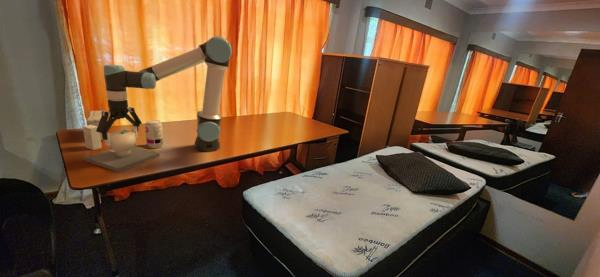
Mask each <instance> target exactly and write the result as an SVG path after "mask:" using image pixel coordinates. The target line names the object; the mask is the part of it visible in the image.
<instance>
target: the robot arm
mask: <svg viewBox="0 0 600 277" xmlns="http://www.w3.org/2000/svg"><path fill="white" fill-rule="evenodd" d="M232 53H233V48H232V45H231V43H230V42H229V41H228V40H227V38H224V37H222V36H212V37H210V38H209V39H208V40H207V41H205V42H204V43H201V44H199V45H198V47H197V48H194V49H191V50H190V51H187V52H184V53H182V54H178V55H177V56H173V57H172V58H169V59H167V60H164V61H162V62H158V63H156V64H154V65H151V66H149V67H146V68H143V69H141V70H139V71H132V70H125V67H124V66H123V65H119V64H106V65H103V73H104V74H103V77H104V84H105V90H106V91H105V92H106V99H107V107H108V110H102V117H101V119H100V122H99V124H98V127H97V130H96V132H99V133H102V138H103V139H104V140H103V141H104V146H106V147H109V146H111V142H110V135H109V133H110V132H109V131H110V129H111V127H112V126H113V124H114V123H115V122H116V121H117V120H120V119H121V120H122V119H126V120H127V121H128V122H129V123H131V124H132V125H131V132H134V133H135V137H136V140H137V139H139V137H138V136H139V134H138V132H139V127H140V126H141V125H142V123H143V122H142V121H141V119H140V117H139V116H138V115H137V113H136V111H135V107H131V106H129V103H128V102H129V101H128V93H127V92H128V91H127V88H130V89H131V88H132V89H133V88H134V89H145V90H154V89H155V88H156V83H157V82H158V81H160V80H163V79H166V78H168V77H170V76H173V75H175V74H178V73H180V72H183V71H185V70H188V69H190V68H193V67H196V66H198V65H201V64H203V63H205V65H206V66H207V68H206V78H205V85H204V93H203V94H204V95H203V100H202V101H203V102H202V110H198V111H197V114H196V123H197V124H196V134H197V135H196V138H195V141H194V144H193V148H194V149H195V150H196V151H199V152H215V151H218V150H219V149H220V148H221V141H220V138H219V137H220V134H221V122H222V116H221V115H220V109H221V100H222V92H223V87H224V79H225V72H226V70H227V69H228V68H229V67H230V65H229V64H230V59H231V56H232V55H233V54H232ZM128 113H129V114H128ZM130 115H131V116H130ZM217 149H218V150H217Z"/></svg>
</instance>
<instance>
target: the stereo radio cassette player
mask: <svg viewBox="0 0 600 277" xmlns="http://www.w3.org/2000/svg"><path fill="white" fill-rule="evenodd" d="M99 108H100V110H90V111H89V113H88V116H87V119H86V126H87V125H94V126H97V127H98V124H99V122H100V119H101V117H102V111H103V109H102V107H101V106H99ZM100 138H101V141H104V139H103V138H102V133H100Z"/></svg>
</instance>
